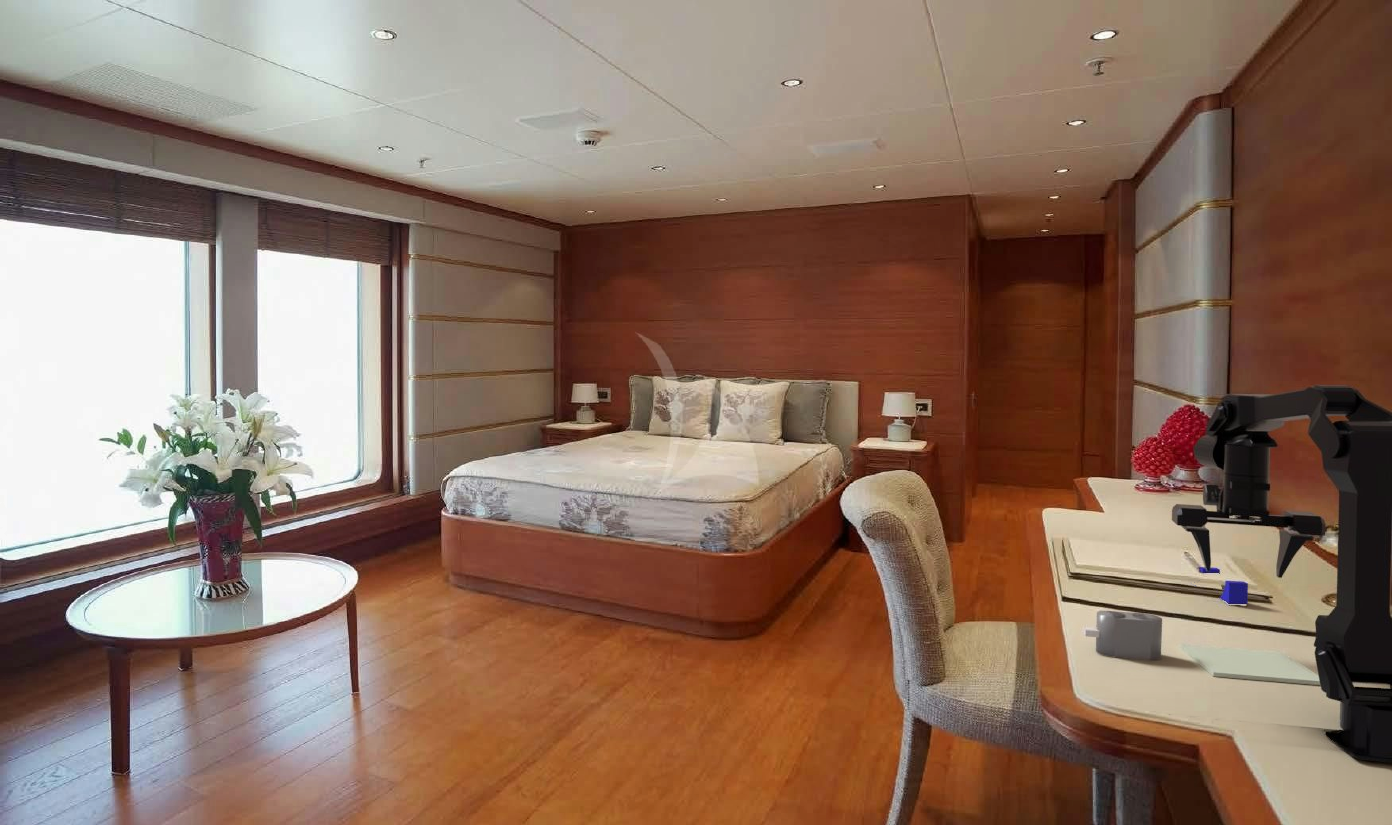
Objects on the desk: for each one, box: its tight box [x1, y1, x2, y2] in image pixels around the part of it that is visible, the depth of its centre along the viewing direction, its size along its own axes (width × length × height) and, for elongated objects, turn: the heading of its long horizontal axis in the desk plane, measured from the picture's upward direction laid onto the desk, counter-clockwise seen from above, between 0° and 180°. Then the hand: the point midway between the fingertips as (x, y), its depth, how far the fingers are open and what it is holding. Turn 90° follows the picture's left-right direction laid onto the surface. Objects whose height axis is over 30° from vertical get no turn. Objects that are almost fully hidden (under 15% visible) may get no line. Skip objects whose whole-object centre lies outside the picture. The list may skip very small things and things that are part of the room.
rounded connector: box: [1082, 610, 1163, 661], centre depth 117 cm, size 4×11×6 cm, turn 77°
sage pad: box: [1179, 643, 1321, 686], centre depth 112 cm, size 12×14×1 cm
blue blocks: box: [1198, 566, 1249, 605], centre depth 143 cm, size 12×4×6 cm, turn 169°
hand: (1242, 573), depth 118 cm, fingers open, 9 cm apart
